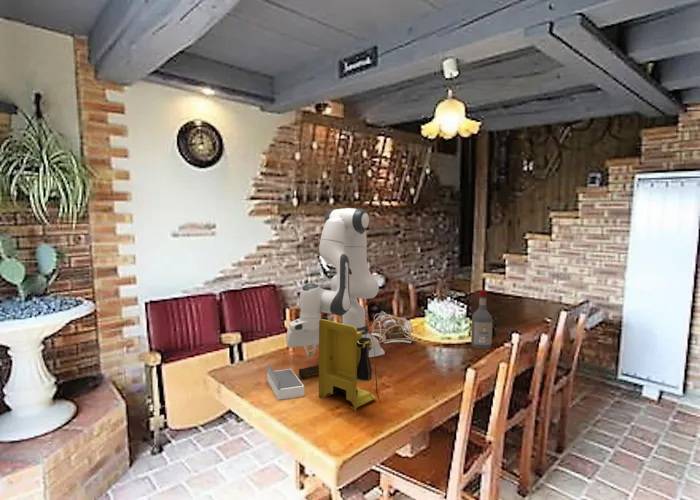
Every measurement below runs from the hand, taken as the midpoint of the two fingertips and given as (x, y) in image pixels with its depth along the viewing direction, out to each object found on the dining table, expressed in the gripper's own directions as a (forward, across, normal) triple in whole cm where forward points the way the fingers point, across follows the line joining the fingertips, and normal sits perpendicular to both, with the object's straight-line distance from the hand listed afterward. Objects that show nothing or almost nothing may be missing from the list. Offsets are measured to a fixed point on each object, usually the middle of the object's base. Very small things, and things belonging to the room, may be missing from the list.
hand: (310, 355), depth 186 cm
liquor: (+9, -95, -8) cm, 96 cm away
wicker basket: (+10, -61, -39) cm, 73 cm away
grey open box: (+9, +13, +9) cm, 18 cm away
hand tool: (+12, +1, 0) cm, 12 cm away
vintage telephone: (+9, -8, +28) cm, 31 cm away
